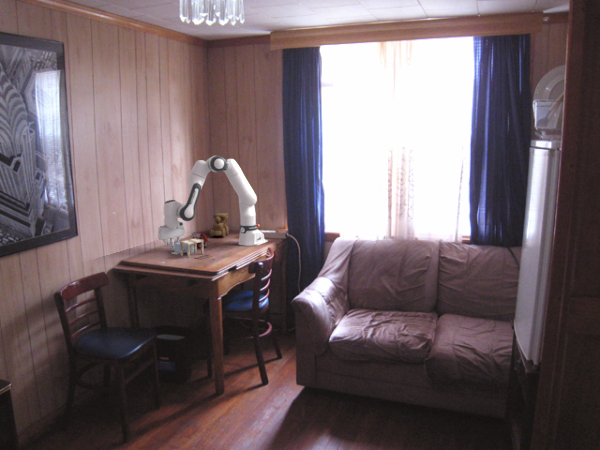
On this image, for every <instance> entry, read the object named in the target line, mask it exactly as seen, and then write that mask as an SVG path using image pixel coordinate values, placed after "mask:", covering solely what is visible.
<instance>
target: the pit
mask: <svg viewBox="0 0 600 450" xmlns="http://www.w3.org/2000/svg"><path fill="white" fill-rule="evenodd" d="M211 256H212V257H213V255H212V254H205V253H204V254H201V255H198V256H194V259H196V258H197V260H204V259H207V257H208V258H211Z"/></svg>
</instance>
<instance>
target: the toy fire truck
mask: <svg viewBox="0 0 600 450" xmlns="http://www.w3.org/2000/svg"><path fill="white" fill-rule="evenodd" d="M191 236H192V239H195V238H196V239H201V240H203V244H204V248H207V247H208V246H209V240H208V237H207V235H206V234H205V233H204V232H202V233H201V232H192V233H191ZM196 244H197V248H199V249H200V248H201V242H198V243H196Z"/></svg>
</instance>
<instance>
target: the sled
mask: <svg viewBox="0 0 600 450" xmlns="http://www.w3.org/2000/svg"><path fill="white" fill-rule="evenodd" d="M174 238H175V237H174ZM174 238H169V249H170V250H174V252H177V253H180V242H181V241H179V243H176V242H175V239H174ZM185 253H187V244H183V254H185ZM190 254H195V253H194V244H190Z"/></svg>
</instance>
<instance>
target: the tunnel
mask: <svg viewBox="0 0 600 450" xmlns="http://www.w3.org/2000/svg"><path fill="white" fill-rule="evenodd" d="M179 242H180V254H179V256H180V257H183V256H184V253H183V244H187V252H186V253H187V255H186V256H187V259H189V257H190V258H191V253H190V244H194V253H193V254H196V253H197V252H198V250H197V249H198V246H197V244H196V243H198V242H201V249H200V254H201V255H205V253H204V252H205V249H204V248H205V247H204V244H203V240H201V239H196V238H195V239H193V238H191V239H186V240H182V241H179ZM197 254H198V253H197Z"/></svg>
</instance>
